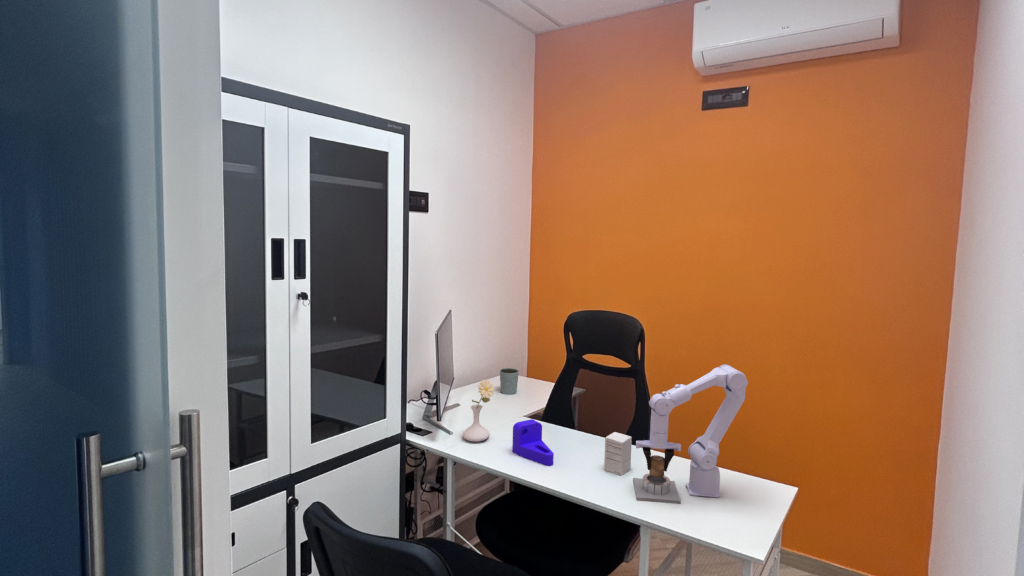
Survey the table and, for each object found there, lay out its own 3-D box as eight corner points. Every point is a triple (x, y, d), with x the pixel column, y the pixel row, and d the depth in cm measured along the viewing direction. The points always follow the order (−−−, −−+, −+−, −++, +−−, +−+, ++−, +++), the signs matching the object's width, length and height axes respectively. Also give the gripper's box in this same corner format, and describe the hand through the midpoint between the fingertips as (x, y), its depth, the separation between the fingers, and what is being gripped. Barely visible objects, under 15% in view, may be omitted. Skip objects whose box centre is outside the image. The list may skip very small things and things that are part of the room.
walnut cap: (663, 471, 186) (663, 455, 186) (665, 477, 181) (665, 461, 181) (648, 470, 187) (649, 454, 186) (650, 476, 182) (651, 460, 181)
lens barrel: (667, 483, 189) (668, 474, 188) (671, 496, 180) (672, 486, 179) (641, 481, 190) (641, 472, 189) (644, 494, 181) (644, 484, 181)
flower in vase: (466, 445, 220) (467, 385, 218) (459, 435, 231) (459, 377, 228) (497, 441, 225) (498, 382, 222) (488, 431, 236) (489, 375, 233)
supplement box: (613, 463, 206) (614, 431, 205) (631, 469, 202) (632, 436, 200) (603, 470, 201) (604, 436, 199) (621, 476, 196) (622, 442, 195)
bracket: (512, 452, 215) (512, 423, 214) (534, 446, 221) (535, 418, 220) (539, 469, 200) (540, 438, 199) (562, 462, 206) (563, 432, 205)
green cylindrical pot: (509, 388, 299) (509, 367, 297) (522, 392, 291) (522, 370, 290) (495, 392, 292) (495, 370, 291) (508, 396, 284) (508, 374, 283)
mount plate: (673, 483, 191) (674, 481, 191) (680, 503, 177) (681, 500, 177) (632, 480, 193) (633, 477, 193) (636, 500, 179) (636, 497, 179)
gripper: (679, 427, 185) (677, 465, 187) (635, 424, 187) (633, 462, 189) (683, 435, 178) (680, 475, 180) (637, 432, 180) (635, 471, 182)
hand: (657, 469), depth 184 cm, fingers closed on walnut cap, 5 cm apart
